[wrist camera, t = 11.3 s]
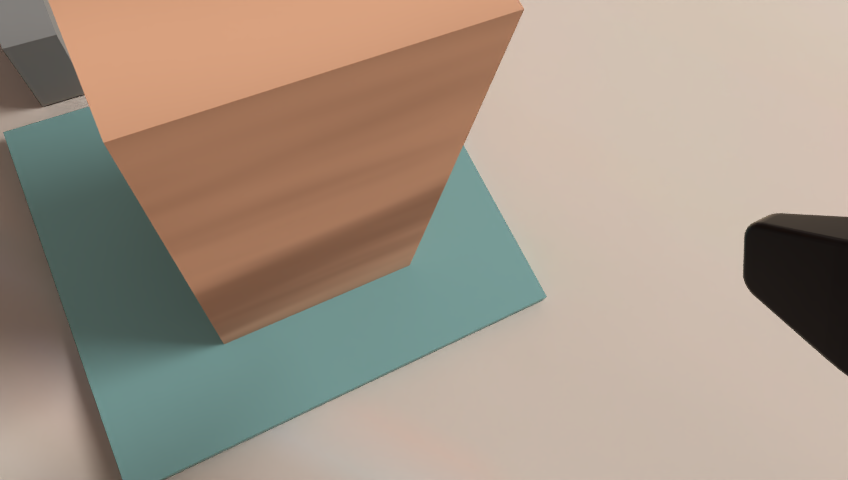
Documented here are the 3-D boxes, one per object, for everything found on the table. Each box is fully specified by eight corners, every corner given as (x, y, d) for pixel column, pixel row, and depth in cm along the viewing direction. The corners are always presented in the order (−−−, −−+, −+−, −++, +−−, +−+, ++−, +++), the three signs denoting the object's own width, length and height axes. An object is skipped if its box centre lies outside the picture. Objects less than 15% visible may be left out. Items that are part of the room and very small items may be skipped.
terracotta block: (409, 265, 17) (524, 9, 8) (224, 344, 16) (102, 142, 7) (331, 109, 19) (353, -267, 9) (153, 169, 17) (-33, -206, 8)
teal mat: (541, 300, 18) (546, 296, 18) (132, 494, 15) (127, 494, 14) (390, 24, 20) (392, 15, 20) (10, 139, 17) (2, 132, 17)
